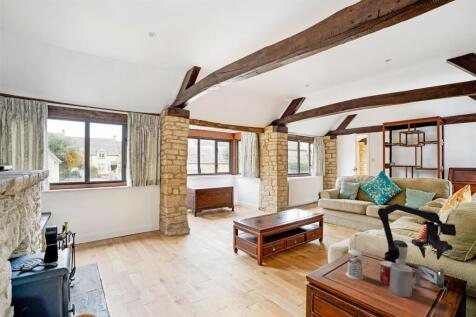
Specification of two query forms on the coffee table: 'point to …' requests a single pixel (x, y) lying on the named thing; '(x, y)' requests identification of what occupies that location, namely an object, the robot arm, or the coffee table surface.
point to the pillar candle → (401, 279)
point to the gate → (428, 274)
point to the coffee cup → (401, 251)
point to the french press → (354, 272)
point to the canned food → (385, 272)
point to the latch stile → (417, 279)
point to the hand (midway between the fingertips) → (430, 258)
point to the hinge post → (440, 279)
